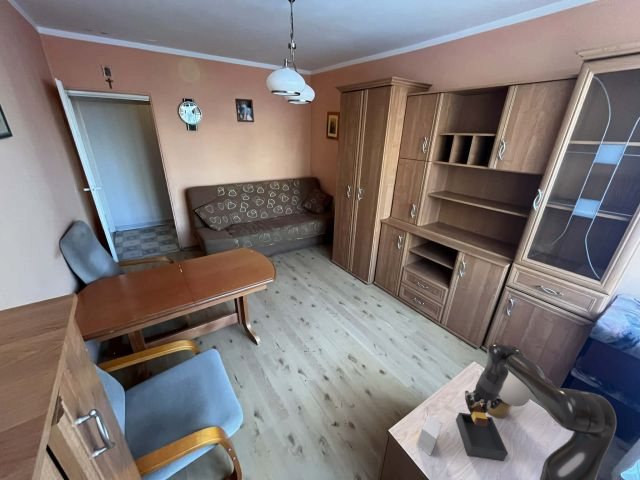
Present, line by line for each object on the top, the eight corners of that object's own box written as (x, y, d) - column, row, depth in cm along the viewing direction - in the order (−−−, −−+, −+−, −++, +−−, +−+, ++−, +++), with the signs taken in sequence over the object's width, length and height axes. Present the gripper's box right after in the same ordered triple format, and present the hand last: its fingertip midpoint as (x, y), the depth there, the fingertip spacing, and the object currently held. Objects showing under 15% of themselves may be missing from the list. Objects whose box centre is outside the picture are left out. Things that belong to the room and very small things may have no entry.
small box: (421, 430, 120) (428, 413, 115) (436, 440, 117) (443, 423, 111) (415, 445, 115) (421, 428, 109) (430, 457, 111) (437, 439, 105)
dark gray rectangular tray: (503, 461, 111) (508, 453, 108) (467, 455, 112) (471, 447, 110) (487, 424, 124) (491, 417, 121) (455, 420, 125) (459, 412, 123)
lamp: (522, 423, 125) (544, 389, 114) (498, 430, 122) (518, 396, 111) (495, 393, 138) (513, 360, 127) (473, 399, 135) (489, 365, 124)
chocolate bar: (486, 427, 106) (489, 422, 104) (475, 425, 106) (477, 420, 105) (476, 402, 115) (478, 398, 113) (465, 401, 115) (467, 396, 114)
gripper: (474, 390, 100) (462, 418, 107) (514, 396, 99) (498, 423, 106) (466, 373, 107) (455, 400, 114) (503, 378, 106) (489, 404, 113)
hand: (476, 411), depth 110 cm, fingers closed on chocolate bar, 4 cm apart
